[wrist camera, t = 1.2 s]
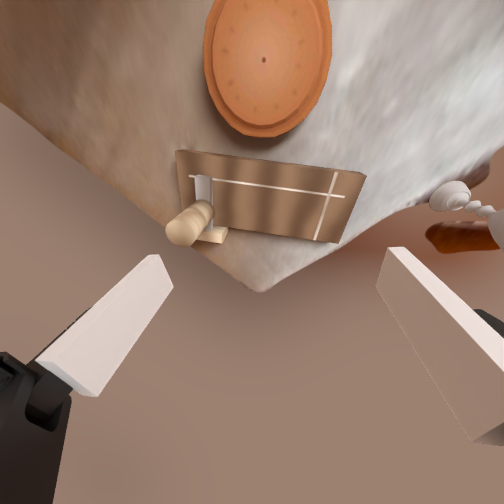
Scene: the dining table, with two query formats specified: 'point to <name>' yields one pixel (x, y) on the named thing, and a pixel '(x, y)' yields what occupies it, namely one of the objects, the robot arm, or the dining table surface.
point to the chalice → (468, 207)
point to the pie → (266, 61)
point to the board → (272, 194)
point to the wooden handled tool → (197, 218)
